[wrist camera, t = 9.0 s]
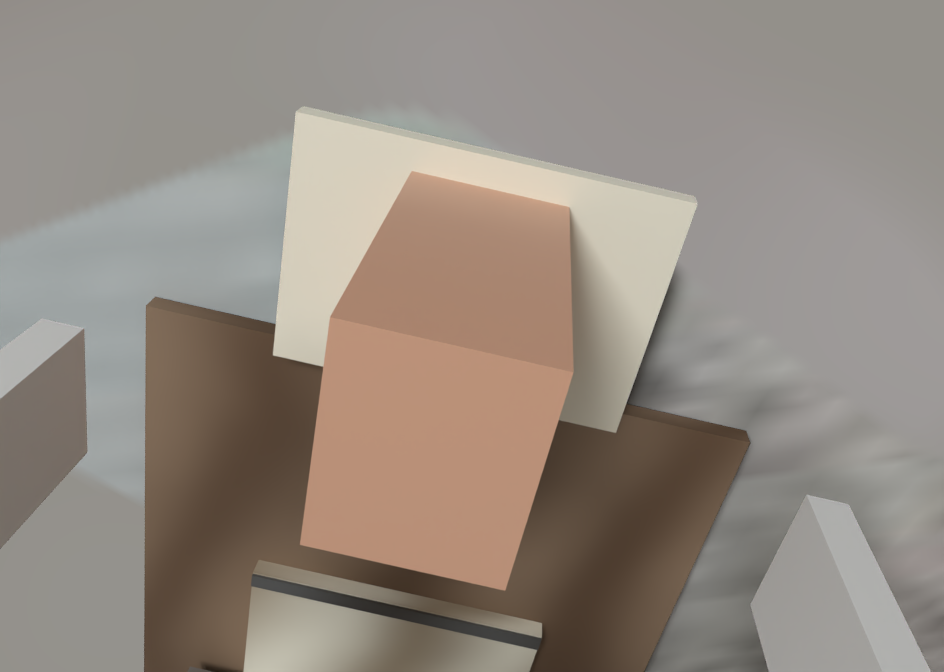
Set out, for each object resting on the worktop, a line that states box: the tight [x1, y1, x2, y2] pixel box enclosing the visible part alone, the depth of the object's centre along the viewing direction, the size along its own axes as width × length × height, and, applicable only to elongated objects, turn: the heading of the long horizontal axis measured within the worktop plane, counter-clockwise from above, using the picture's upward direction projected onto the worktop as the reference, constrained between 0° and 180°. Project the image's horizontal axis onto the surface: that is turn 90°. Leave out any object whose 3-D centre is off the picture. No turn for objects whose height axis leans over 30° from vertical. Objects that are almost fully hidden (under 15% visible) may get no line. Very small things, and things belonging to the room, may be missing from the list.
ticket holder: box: [144, 297, 750, 672], centre depth 27 cm, size 18×20×4 cm
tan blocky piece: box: [273, 106, 698, 591], centre depth 18 cm, size 10×7×9 cm
